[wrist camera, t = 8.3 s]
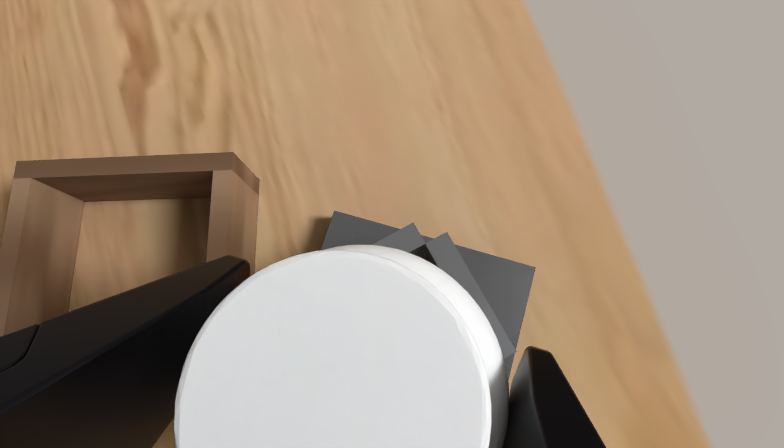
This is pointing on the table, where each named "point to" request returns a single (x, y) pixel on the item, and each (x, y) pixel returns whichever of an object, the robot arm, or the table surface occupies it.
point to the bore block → (107, 183)
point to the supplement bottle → (345, 359)
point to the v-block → (452, 271)
